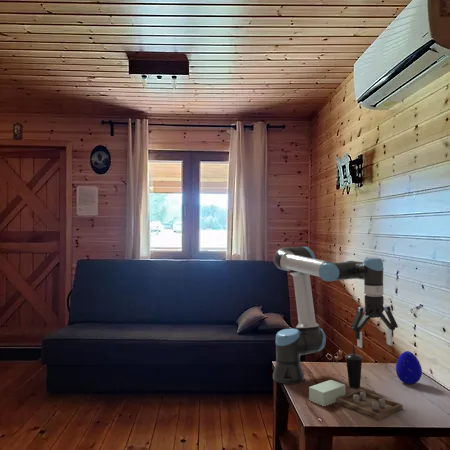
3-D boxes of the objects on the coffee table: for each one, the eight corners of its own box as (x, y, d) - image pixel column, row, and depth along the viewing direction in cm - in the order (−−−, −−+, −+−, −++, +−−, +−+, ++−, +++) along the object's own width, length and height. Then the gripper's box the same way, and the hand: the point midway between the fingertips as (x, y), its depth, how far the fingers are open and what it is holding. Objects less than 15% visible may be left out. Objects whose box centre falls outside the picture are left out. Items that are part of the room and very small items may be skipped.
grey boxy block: (323, 407, 168) (323, 392, 168) (309, 401, 175) (308, 387, 175) (345, 398, 176) (345, 385, 176) (331, 393, 183) (330, 379, 183)
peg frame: (336, 403, 171) (336, 394, 171) (360, 393, 181) (360, 385, 181) (378, 420, 155) (378, 411, 155) (402, 409, 164) (402, 400, 164)
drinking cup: (364, 390, 185) (363, 345, 185) (346, 389, 186) (345, 345, 186) (362, 383, 192) (361, 341, 192) (345, 383, 194) (344, 340, 194)
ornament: (424, 383, 192) (423, 350, 192) (418, 389, 185) (417, 355, 185) (399, 378, 199) (398, 347, 199) (393, 383, 192) (392, 351, 192)
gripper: (350, 297, 165) (351, 350, 165) (406, 295, 170) (406, 346, 170) (342, 294, 172) (342, 345, 172) (395, 292, 177) (396, 341, 177)
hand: (374, 345), depth 171 cm, fingers open, 13 cm apart
